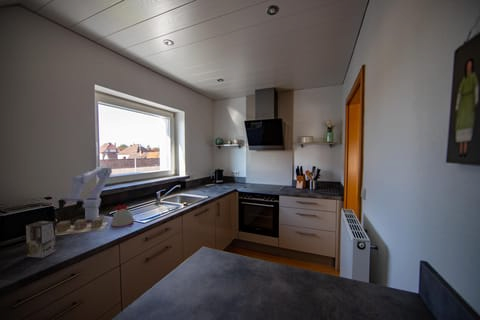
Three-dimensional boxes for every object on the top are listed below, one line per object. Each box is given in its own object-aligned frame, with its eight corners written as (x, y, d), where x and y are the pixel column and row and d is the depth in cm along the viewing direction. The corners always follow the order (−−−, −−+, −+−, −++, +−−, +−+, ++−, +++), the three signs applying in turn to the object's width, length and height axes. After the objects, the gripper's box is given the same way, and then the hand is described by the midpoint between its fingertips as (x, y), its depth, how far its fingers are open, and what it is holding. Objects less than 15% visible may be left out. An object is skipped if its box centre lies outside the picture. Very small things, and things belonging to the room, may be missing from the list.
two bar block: (94, 225, 126) (94, 218, 126) (102, 224, 128) (102, 217, 128) (91, 228, 121) (91, 220, 121) (100, 227, 123) (100, 219, 123)
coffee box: (56, 251, 95) (56, 221, 95) (42, 258, 89) (41, 226, 88) (41, 249, 96) (40, 220, 95) (25, 256, 90) (25, 225, 89)
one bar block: (77, 227, 123) (77, 219, 123) (86, 226, 125) (86, 218, 124) (74, 230, 118) (74, 222, 118) (83, 229, 120) (83, 221, 120)
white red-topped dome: (113, 222, 135) (113, 202, 134) (134, 219, 141) (134, 201, 140) (109, 229, 122) (109, 208, 122) (132, 226, 128) (132, 206, 128)
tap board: (60, 227, 123) (60, 226, 123) (109, 222, 134) (109, 221, 134) (45, 238, 109) (45, 236, 109) (102, 231, 119) (102, 229, 119)
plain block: (60, 228, 119) (60, 221, 119) (70, 227, 121) (70, 220, 121) (56, 232, 115) (56, 224, 114) (66, 230, 117) (66, 223, 116)
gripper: (59, 189, 117) (49, 210, 111) (86, 191, 123) (78, 211, 116) (64, 192, 123) (54, 212, 117) (89, 194, 128) (82, 213, 122)
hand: (67, 212), depth 117 cm, fingers open, 7 cm apart
